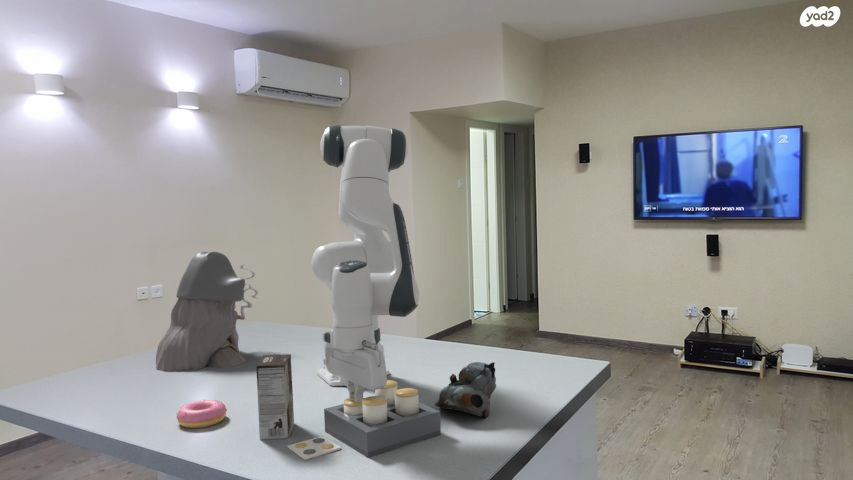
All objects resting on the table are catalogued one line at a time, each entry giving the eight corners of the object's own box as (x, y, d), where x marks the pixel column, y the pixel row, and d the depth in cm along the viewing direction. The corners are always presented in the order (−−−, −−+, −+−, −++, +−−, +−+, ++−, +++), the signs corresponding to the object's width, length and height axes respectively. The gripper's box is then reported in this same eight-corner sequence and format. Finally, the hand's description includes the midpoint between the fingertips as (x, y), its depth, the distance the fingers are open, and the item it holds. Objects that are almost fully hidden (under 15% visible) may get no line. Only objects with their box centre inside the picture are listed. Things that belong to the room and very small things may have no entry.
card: (287, 447, 125) (287, 444, 125) (323, 437, 130) (322, 435, 130) (304, 460, 119) (304, 457, 119) (341, 449, 124) (341, 446, 124)
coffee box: (266, 424, 139) (262, 354, 138) (294, 423, 139) (291, 353, 138) (258, 440, 130) (254, 365, 129) (289, 438, 130) (286, 363, 129)
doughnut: (226, 426, 139) (225, 408, 139) (174, 433, 136) (173, 415, 135) (227, 411, 149) (226, 394, 149) (179, 417, 146) (178, 400, 146)
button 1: (340, 423, 133) (339, 400, 133) (360, 417, 136) (359, 395, 136) (351, 429, 129) (350, 406, 129) (372, 424, 132) (371, 401, 132)
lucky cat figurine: (430, 405, 148) (449, 350, 152) (476, 422, 149) (493, 367, 153) (441, 407, 134) (461, 346, 138) (492, 426, 135) (511, 365, 138)
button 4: (391, 414, 131) (390, 391, 131) (410, 409, 134) (409, 386, 134) (404, 420, 127) (403, 397, 127) (423, 415, 130) (423, 392, 130)
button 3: (371, 405, 138) (370, 383, 137) (390, 400, 141) (389, 378, 140) (383, 410, 134) (382, 388, 133) (402, 405, 137) (401, 383, 136)
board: (324, 431, 134) (324, 408, 133) (393, 412, 144) (393, 391, 144) (367, 457, 119) (366, 432, 119) (440, 434, 130) (440, 411, 130)
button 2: (358, 423, 127) (357, 399, 126) (379, 417, 129) (378, 394, 129) (371, 430, 123) (370, 405, 122) (392, 424, 125) (391, 400, 125)
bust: (280, 351, 208) (275, 249, 206) (195, 377, 179) (188, 258, 177) (214, 342, 226) (209, 247, 224) (127, 364, 197) (120, 255, 195)
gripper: (393, 342, 125) (395, 409, 126) (343, 328, 141) (346, 387, 142) (366, 347, 121) (369, 416, 122) (318, 332, 137) (321, 393, 138)
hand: (356, 400), depth 132 cm, fingers closed
